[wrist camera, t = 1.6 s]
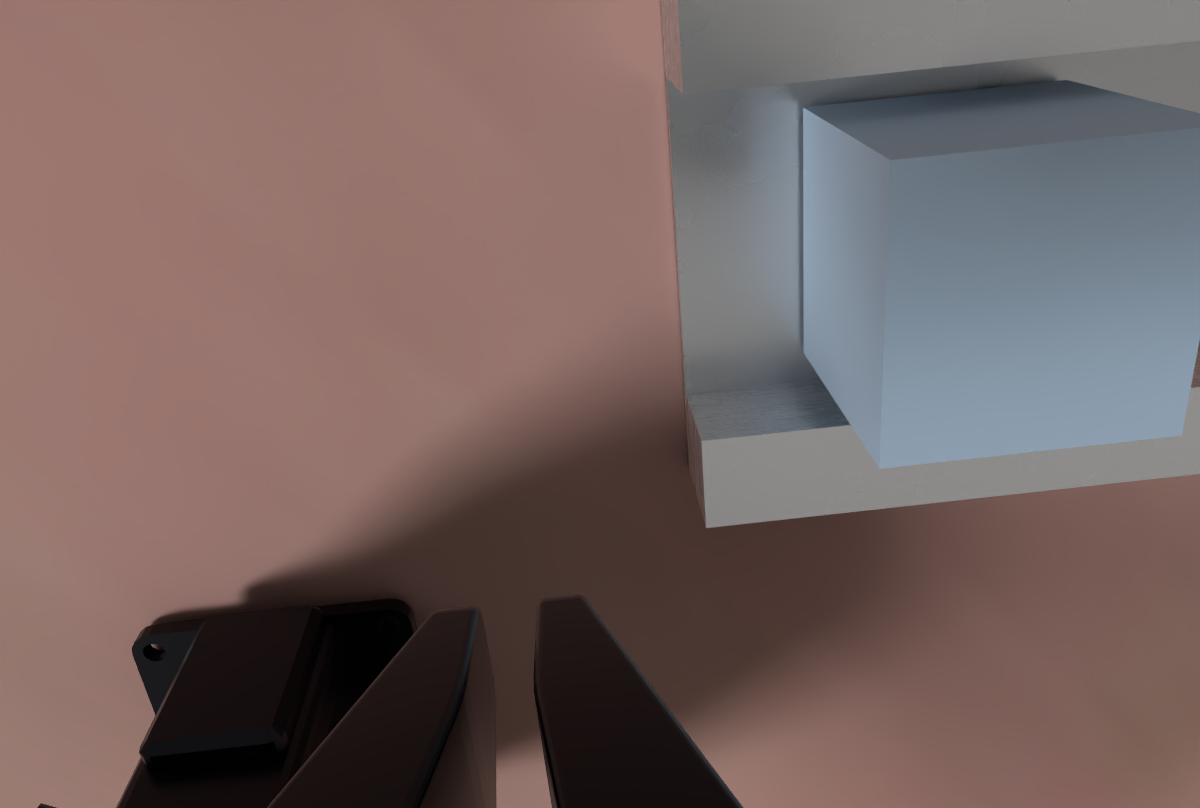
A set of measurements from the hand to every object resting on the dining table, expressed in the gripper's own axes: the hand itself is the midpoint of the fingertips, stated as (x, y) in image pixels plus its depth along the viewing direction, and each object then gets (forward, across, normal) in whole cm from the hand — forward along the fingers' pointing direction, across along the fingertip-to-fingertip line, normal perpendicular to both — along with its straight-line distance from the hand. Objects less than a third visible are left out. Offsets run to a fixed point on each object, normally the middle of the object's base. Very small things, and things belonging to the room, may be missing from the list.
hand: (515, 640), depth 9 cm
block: (+12, -8, 0) cm, 14 cm away
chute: (+12, -9, 0) cm, 15 cm away
